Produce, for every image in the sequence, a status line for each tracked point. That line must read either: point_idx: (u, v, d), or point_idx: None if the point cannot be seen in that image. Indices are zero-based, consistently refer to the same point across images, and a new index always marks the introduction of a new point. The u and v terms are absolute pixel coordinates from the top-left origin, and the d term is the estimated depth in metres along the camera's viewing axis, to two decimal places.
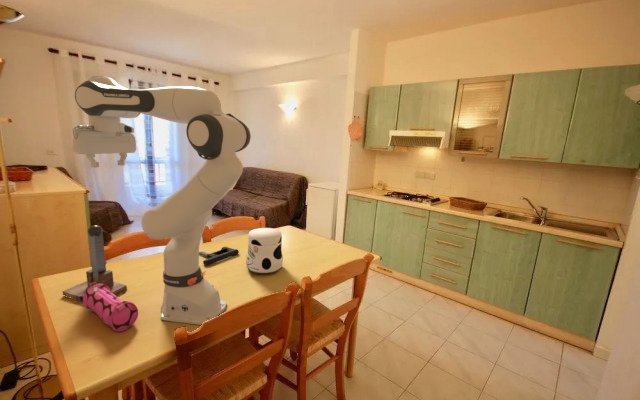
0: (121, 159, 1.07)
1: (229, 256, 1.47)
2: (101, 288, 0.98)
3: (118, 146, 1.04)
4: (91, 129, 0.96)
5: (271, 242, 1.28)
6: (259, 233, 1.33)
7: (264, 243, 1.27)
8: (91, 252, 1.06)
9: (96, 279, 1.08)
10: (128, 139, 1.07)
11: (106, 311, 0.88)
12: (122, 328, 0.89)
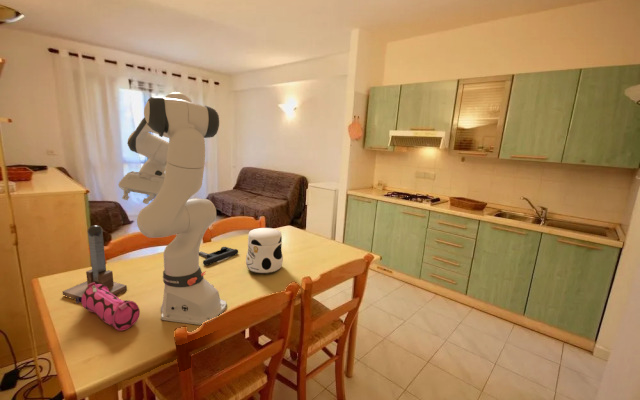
0: None
1: (229, 256, 1.47)
2: (100, 288, 0.98)
3: (146, 186, 1.22)
4: None
5: (271, 242, 1.28)
6: (259, 233, 1.33)
7: (264, 243, 1.27)
8: (91, 252, 1.06)
9: (96, 279, 1.08)
10: (158, 182, 1.22)
11: (108, 311, 0.89)
12: (124, 327, 0.89)
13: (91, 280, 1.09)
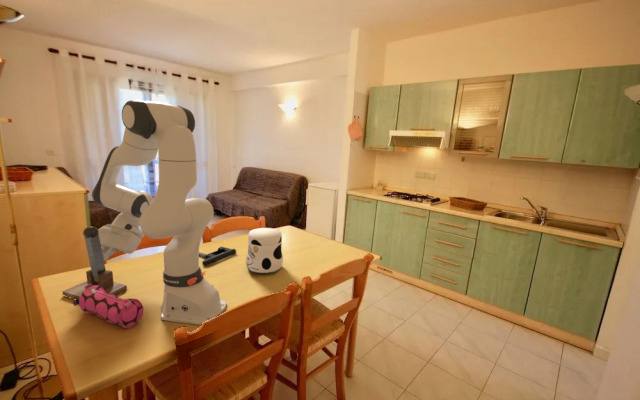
0: None
1: (227, 256, 1.47)
2: (98, 289, 0.97)
3: (115, 241, 1.11)
4: None
5: (271, 242, 1.28)
6: (259, 233, 1.33)
7: (264, 243, 1.27)
8: (89, 253, 1.05)
9: (96, 279, 1.08)
10: (128, 237, 1.11)
11: (112, 310, 0.89)
12: (130, 325, 0.91)
13: (91, 280, 1.09)
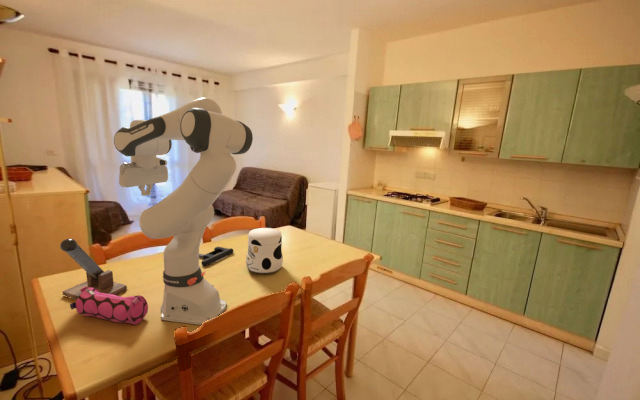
0: (147, 189, 1.19)
1: (225, 255, 1.47)
2: (94, 291, 0.96)
3: (154, 178, 1.19)
4: (133, 165, 1.11)
5: (271, 242, 1.28)
6: (259, 233, 1.33)
7: (264, 243, 1.27)
8: (78, 262, 1.02)
9: (97, 280, 1.08)
10: (162, 170, 1.23)
11: (119, 308, 0.90)
12: (138, 321, 0.93)
13: (91, 280, 1.09)
